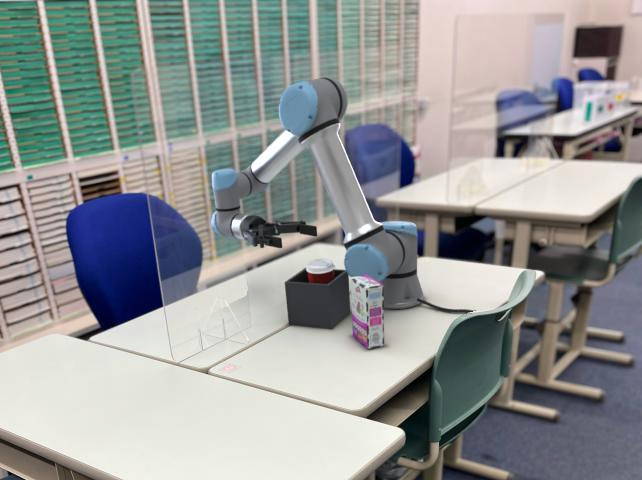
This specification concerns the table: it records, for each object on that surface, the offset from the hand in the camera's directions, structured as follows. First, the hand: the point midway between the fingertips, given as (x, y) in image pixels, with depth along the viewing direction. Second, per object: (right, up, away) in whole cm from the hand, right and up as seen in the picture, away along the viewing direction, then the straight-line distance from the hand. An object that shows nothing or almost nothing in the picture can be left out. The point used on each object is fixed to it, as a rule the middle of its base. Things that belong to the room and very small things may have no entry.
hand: (298, 237), depth 195 cm
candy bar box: (+19, -31, -9) cm, 37 cm away
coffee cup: (+7, -19, +10) cm, 23 cm away
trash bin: (+6, -21, +8) cm, 23 cm away
